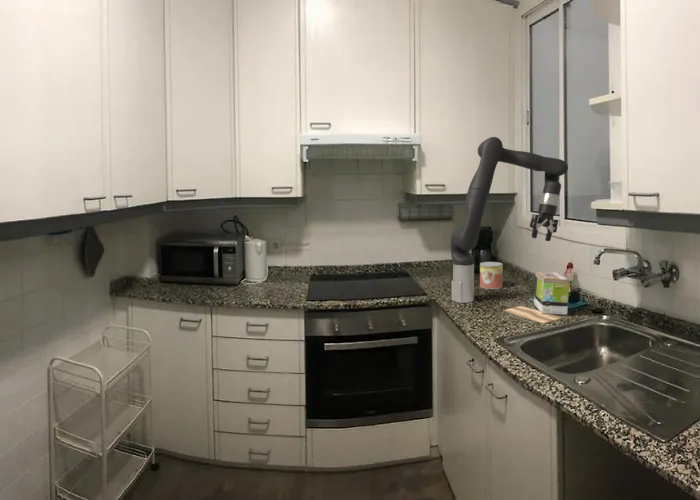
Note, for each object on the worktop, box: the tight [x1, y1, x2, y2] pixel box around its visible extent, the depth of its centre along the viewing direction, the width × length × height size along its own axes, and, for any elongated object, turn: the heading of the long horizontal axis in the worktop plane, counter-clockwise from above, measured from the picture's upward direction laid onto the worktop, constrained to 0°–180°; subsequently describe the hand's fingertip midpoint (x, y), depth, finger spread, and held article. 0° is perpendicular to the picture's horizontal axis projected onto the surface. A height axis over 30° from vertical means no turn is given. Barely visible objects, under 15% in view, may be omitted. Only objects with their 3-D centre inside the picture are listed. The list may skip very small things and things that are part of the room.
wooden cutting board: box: [502, 305, 564, 324], centre depth 174 cm, size 11×20×1 cm, turn 28°
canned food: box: [479, 261, 504, 290], centre depth 222 cm, size 11×11×12 cm
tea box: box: [533, 271, 571, 315], centre depth 178 cm, size 15×10×15 cm, turn 168°
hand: (540, 239), depth 196 cm, fingers open, 8 cm apart
